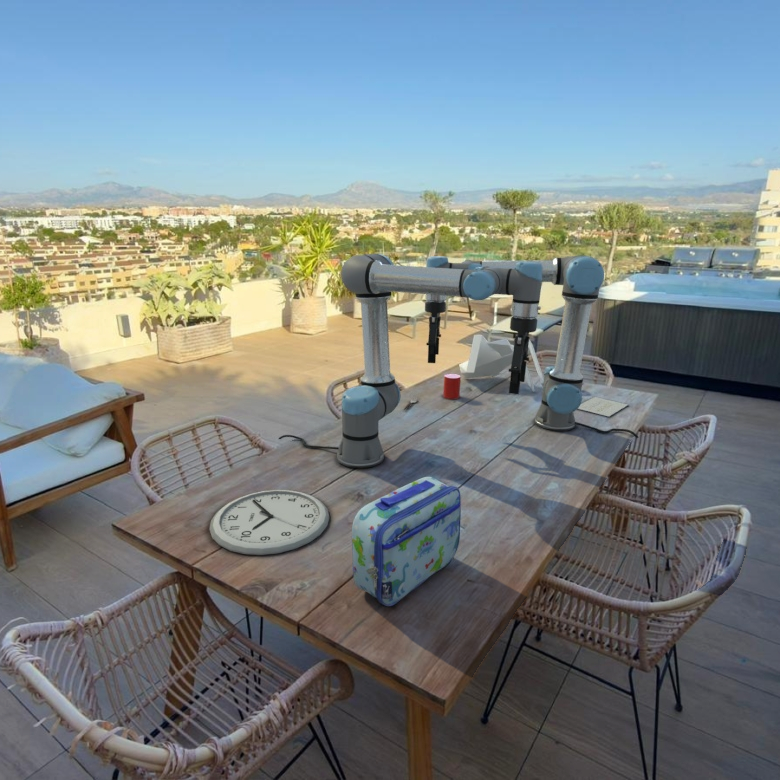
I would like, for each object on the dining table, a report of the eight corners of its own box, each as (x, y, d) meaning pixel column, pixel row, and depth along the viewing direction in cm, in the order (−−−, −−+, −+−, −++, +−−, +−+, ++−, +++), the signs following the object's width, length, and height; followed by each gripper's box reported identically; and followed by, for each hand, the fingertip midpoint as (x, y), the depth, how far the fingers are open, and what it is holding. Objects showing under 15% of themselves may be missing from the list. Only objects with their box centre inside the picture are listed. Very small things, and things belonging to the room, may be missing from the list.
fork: (401, 410, 217) (401, 405, 216) (412, 399, 231) (412, 395, 231) (407, 411, 216) (407, 406, 216) (418, 400, 230) (418, 395, 230)
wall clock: (327, 546, 121) (194, 551, 119) (327, 552, 122) (195, 557, 119) (330, 485, 150) (223, 488, 147) (330, 490, 150) (224, 493, 148)
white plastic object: (480, 420, 263) (459, 397, 239) (461, 347, 286) (440, 319, 261) (551, 396, 251) (537, 369, 226) (526, 322, 273) (511, 290, 249)
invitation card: (608, 416, 214) (573, 407, 224) (608, 416, 214) (573, 408, 224) (628, 404, 229) (594, 396, 238) (628, 405, 229) (594, 397, 238)
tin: (449, 393, 241) (450, 373, 238) (462, 396, 237) (463, 375, 234) (440, 396, 236) (441, 376, 233) (453, 400, 232) (454, 379, 229)
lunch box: (381, 619, 101) (382, 525, 95) (345, 592, 109) (344, 503, 102) (464, 563, 119) (469, 480, 113) (428, 543, 126) (432, 464, 120)
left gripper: (533, 325, 139) (524, 400, 145) (541, 312, 161) (533, 378, 167) (504, 322, 141) (497, 397, 147) (516, 310, 163) (510, 375, 170)
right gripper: (428, 296, 200) (426, 350, 206) (421, 305, 176) (419, 366, 183) (448, 296, 199) (445, 351, 205) (443, 306, 175) (440, 367, 181)
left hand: (516, 387), depth 157 cm, fingers open, 13 cm apart
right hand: (433, 358), depth 194 cm, fingers open, 13 cm apart
